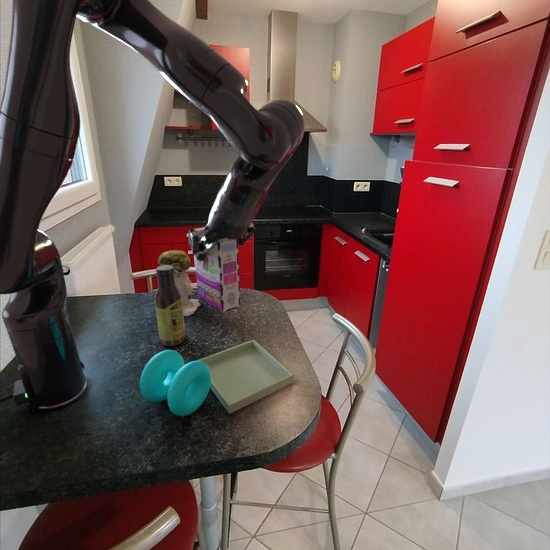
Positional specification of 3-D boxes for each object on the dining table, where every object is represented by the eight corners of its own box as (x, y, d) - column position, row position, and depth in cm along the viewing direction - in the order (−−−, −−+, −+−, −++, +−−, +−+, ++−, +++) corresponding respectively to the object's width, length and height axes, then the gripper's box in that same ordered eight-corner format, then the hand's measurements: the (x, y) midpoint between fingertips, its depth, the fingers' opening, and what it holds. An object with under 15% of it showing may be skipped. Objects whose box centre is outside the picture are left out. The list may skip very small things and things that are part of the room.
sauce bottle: (178, 349, 79) (169, 274, 72) (155, 346, 80) (143, 271, 73) (190, 335, 85) (182, 264, 78) (168, 332, 86) (159, 262, 79)
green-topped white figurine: (156, 303, 102) (148, 247, 95) (197, 297, 106) (192, 243, 99) (157, 320, 92) (147, 260, 85) (202, 313, 96) (196, 255, 89)
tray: (229, 414, 60) (228, 405, 59) (195, 368, 72) (195, 361, 71) (293, 382, 68) (293, 374, 67) (253, 346, 80) (253, 339, 79)
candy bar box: (242, 306, 71) (238, 234, 65) (223, 314, 68) (217, 238, 62) (215, 291, 79) (209, 225, 73) (196, 297, 75) (189, 228, 69)
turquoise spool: (179, 430, 56) (173, 385, 53) (140, 409, 61) (132, 366, 57) (216, 395, 64) (212, 353, 61) (179, 378, 69) (174, 339, 65)
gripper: (260, 188, 62) (234, 236, 76) (189, 194, 54) (174, 246, 68) (276, 220, 60) (246, 263, 73) (205, 231, 52) (185, 277, 66)
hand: (211, 255), depth 71 cm, fingers closed on candy bar box, 5 cm apart
